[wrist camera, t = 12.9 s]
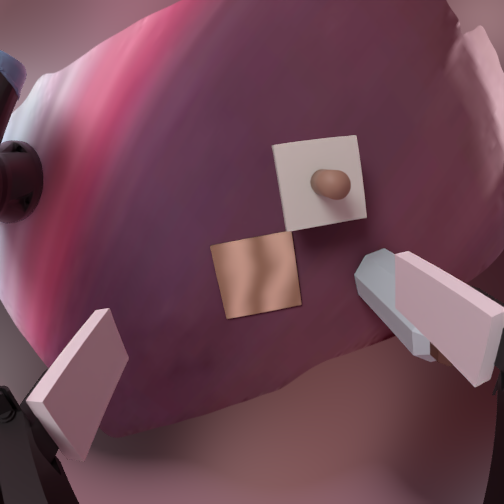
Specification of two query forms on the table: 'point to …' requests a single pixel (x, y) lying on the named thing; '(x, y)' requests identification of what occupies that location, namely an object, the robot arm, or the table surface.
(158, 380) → the table surface
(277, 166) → the lid
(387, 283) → the water bottle
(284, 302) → the plate
